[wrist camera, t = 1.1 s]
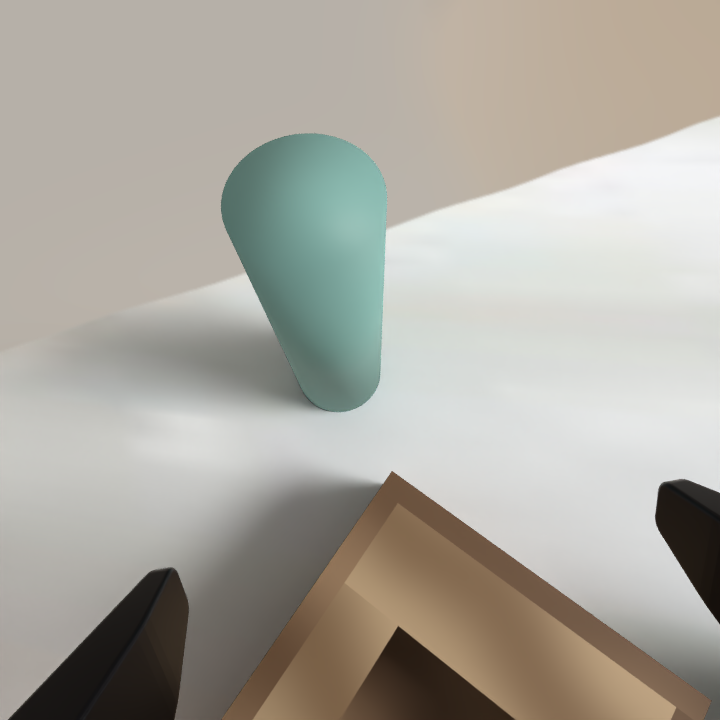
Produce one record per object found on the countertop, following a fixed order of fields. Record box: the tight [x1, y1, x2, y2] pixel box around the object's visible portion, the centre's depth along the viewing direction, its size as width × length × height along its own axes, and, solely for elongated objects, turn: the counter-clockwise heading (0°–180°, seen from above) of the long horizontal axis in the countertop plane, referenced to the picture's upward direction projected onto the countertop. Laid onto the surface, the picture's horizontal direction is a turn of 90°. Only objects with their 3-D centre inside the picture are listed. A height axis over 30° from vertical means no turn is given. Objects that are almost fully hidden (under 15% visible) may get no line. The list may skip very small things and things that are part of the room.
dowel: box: [221, 134, 387, 412], centre depth 18 cm, size 4×4×13 cm
